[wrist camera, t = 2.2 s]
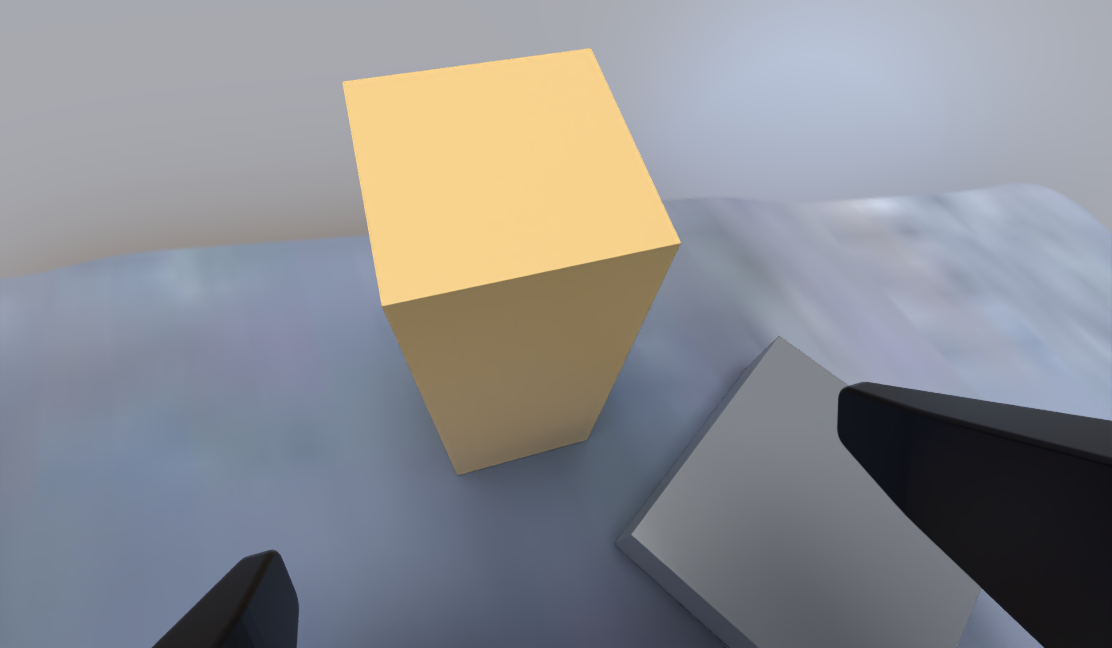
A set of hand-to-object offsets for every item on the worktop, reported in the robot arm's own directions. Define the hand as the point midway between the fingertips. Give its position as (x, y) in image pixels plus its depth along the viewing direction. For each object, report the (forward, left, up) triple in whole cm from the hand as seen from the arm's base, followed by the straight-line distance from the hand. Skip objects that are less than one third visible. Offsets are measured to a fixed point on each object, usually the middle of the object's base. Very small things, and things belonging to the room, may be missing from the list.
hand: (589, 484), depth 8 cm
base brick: (-6, -6, -12) cm, 15 cm away
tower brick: (+5, -3, -12) cm, 13 cm away
